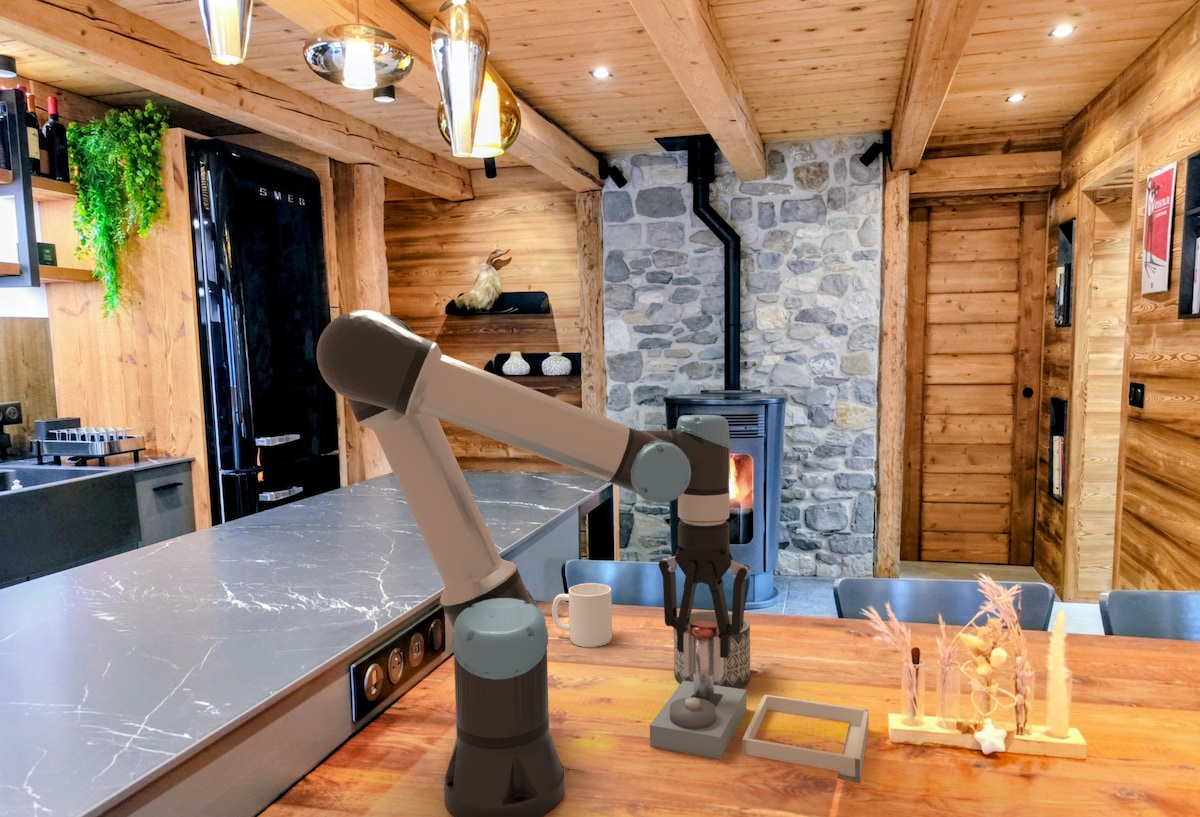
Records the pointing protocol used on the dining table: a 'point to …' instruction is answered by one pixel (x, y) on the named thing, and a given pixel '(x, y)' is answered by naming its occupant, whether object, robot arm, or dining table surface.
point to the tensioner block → (698, 721)
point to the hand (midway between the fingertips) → (703, 675)
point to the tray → (844, 763)
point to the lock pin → (704, 659)
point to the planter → (733, 664)
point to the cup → (587, 614)
